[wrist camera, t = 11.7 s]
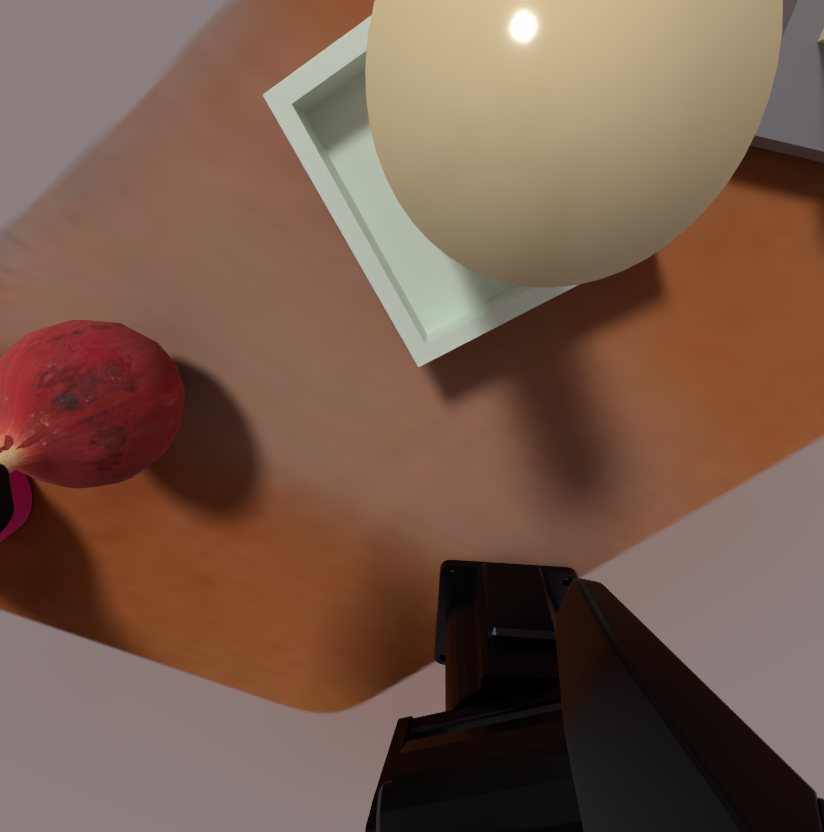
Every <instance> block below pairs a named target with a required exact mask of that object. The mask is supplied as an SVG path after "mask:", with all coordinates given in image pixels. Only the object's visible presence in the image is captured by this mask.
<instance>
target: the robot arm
mask: <svg viewBox="0 0 824 832" xmlns="http://www.w3.org/2000/svg"><path fill="white" fill-rule="evenodd" d="M14 509H15V506H14V499H13V493H12V487H11V480H10V474H9V471H8V469H7V468H6V466H5V465H3V464H1V463H0V534H1V533H2V531H3V530H4V529H5V528H6V527H7V525H8V524H9V523H10V521H11V519H12V517H13V514H14ZM448 570H454V572H447V571H448ZM567 577H570V579H568V580H563V579H564V578H567ZM443 654H445V655H443ZM435 660H436V661H437V662H438V663H440V664H444V665H445V666H446V667H445V668H446V711H445V712H441V713H436V714H431V715H427V716H422V717H418V718H413V717H412V716H410V717H405V718H401V719H399V720H398V722H397V726H396V729H395V732H394V735H393V738H392V741H391V745H390V748H389V751H388V754H387V757H386V760H385V763H384V766H383V770H382V773H381V776H380V779H379V782H378V786H377V789H376V792H375V795H374V798H373V801H372V806H371V810H370V814H369V817H368V821H367V824H366V832H824V799H822V798H817V794H816V792H815V791H814V790H813V789H812V788H811V787H810V786H809V785H808V784H807V783H806V782H805V781H804V780H803V779H802V778H801V777H800V776H799V775H798V774H797V773H796V772H795V771H794V770H793V769H792V768H791V767H790V766H789V765H788V764H787V763H786V762H785V761H784V760H783V759H782V758H781V757H779V755H777V754H776V753H775V752H774V751H773V750H772V749H771V748H770V747H769V746H768V745H767V744H766V743H765V742H764V741H763V740H762V739H761V738H760V737H759V736H758V735H757V734H756V733H755V732H754V731H753V730H752V729H751V728H750V727H749V726H748V725H747V724H746V723H744V721H742V719H740V718H739V717H738V716H737V715H736V714H735V713H734V712H733V711H732V710H731V709H730V708H729V707H728V706H727V705H726V704H725V703H724V702H723V701H722V700H721V699H720V698H719V697H718V696H717V695H716V694H715V693H714V692H713V691H712V690H711V689H710V688H709V687H708V686H706V684H705V683H703V682H702V681H701V680H700V679H699V678H698V677H697V676H696V675H695V674H694V673H693V672H692V671H691V670H690V669H689V668H688V667H687V666H686V665H685V664H684V663H683V662H682V661H681V660H680V659H679V658H678V657H677V656H676V655H675V654H674V653H673V652H672V651H671V650H670V649H669V648H668V647H667V646H665V645H664V644H663V643H662V642H661V641H660V640H659V639H658V638H657V637H656V636H655V635H654V634H653V633H652V632H651V631H650V630H649V629H648V628H647V627H646V626H645V625H644V624H643V623H642V622H641V621H640V620H639V619H638V618H637V617H636V616H635V615H634V614H633V613H631V611H629V610H628V608H626V607H625V606H624V605H623V604H622V603H621V602H620V601H619V600H618V599H617V598H616V597H615V596H614V595H613V594H612V593H611V592H610V591H609V590H608V589H607V588H606V587H605V586H604V585H603V584H601V583H599V582H596V581H590V580H586V579H581V578H578V576H577V573H576V572H575V570H573V569H572V568H568V567H554V566H538V565H523V564H507V563H491V562H476V561H460V560H447V561H445V562H443V563H442V564H441V567H440V579H439V594H438V609H437V624H436V638H435Z"/></svg>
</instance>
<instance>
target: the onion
mask: <svg viewBox="0 0 824 832" xmlns="http://www.w3.org/2000/svg"><path fill="white" fill-rule="evenodd" d="M184 404H185V389H184V385H183V382H182V379H181V376H180V373H179V370H178V367H177V365H176V364H175V362H174V361H173V360H172V359H171V358H170V357H169V355H168V354H167V353H166V352H165V351H164V350H163V348H162V347H161V346H160V345H159V344H158V343H157V342H155V341H153V340H151V339H149V338H147V337H146V336H144V335H142V334H140V333H138V332H136V331H134V330H132V329H130V328H128V327H126V326H124V325H123V324H121V323H110V322H100V321H88V320H70V321H67V322H63V323H60V324H57V325H53V326H50V327H46V328H43V329H40V330H38V331H35V332H32V333H30V334H27V335H25V336H24V337H22V338H21V339H20V340H19V341H17V342H16V343H15V344H13V345H12V346H11V348H10V349H9V350H8V351H7V352H6V353H5V354H4V355H3V356H2V357H1V358H0V463H1V464H3V465H5V466H6V468H7V469H8V471H9V473H11V472H13V471H15V470H19V471H21V472H23V473H25V474H27V475H28V476H30V477H32V478H34V479H37V480H40V481H44V482H48V483H52V484H56V485H60V486H64V487H70V488H89V487H96V486H102V485H109V484H115V483H119V482H121V481H124V480H127V479H129V478H132V477H133V476H135V475H136V474H138V473H139V472H141V471H142V470H143V469H145V468H146V467H148V466H149V465H151V464H152V463H154V462H155V461H156V460H158V459H159V458H161V457H162V456H163V455H164V454H165V452H166V451H167V450H168V448H169V447H170V445H171V444H172V442H173V441H174V439H175V437H176V436H177V434H178V432H179V431H180V429H181V427H182V426H183V417H184Z"/></svg>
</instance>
